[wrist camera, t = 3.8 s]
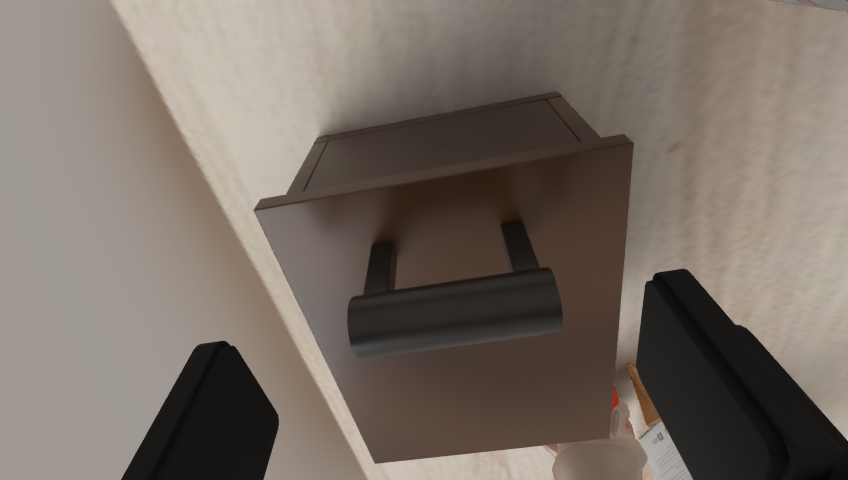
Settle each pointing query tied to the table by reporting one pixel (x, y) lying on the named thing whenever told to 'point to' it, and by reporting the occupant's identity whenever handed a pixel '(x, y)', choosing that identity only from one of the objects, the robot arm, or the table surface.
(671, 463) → the cosmetic box
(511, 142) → the box
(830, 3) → the beverage can
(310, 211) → the lid
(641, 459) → the figurine
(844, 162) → the table surface
